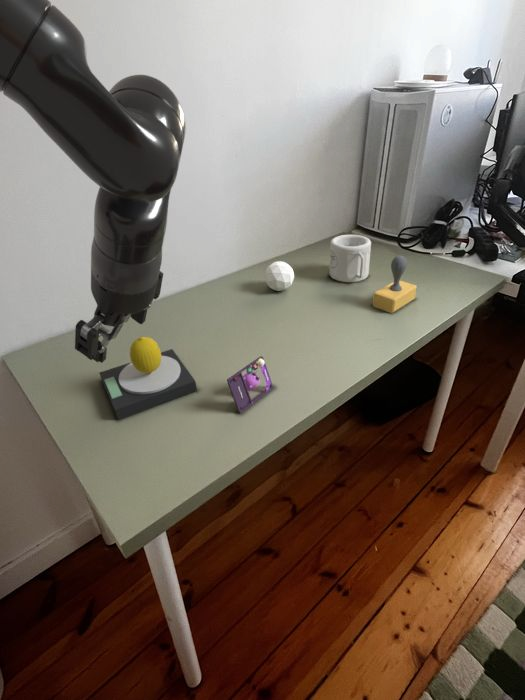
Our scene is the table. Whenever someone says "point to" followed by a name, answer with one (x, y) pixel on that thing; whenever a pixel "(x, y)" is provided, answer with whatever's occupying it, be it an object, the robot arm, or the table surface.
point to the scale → (147, 385)
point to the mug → (349, 258)
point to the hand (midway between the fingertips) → (118, 338)
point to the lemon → (145, 355)
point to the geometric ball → (279, 276)
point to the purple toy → (248, 384)
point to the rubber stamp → (395, 289)
